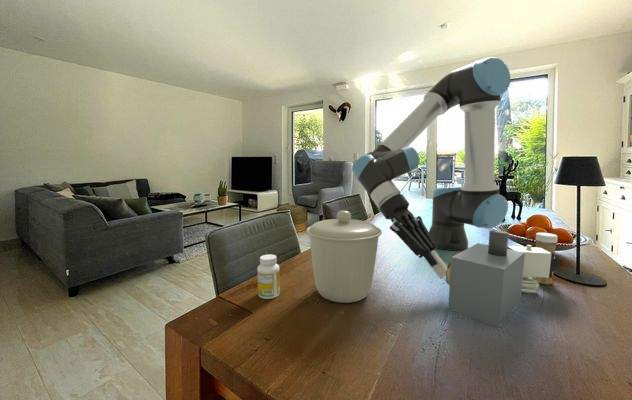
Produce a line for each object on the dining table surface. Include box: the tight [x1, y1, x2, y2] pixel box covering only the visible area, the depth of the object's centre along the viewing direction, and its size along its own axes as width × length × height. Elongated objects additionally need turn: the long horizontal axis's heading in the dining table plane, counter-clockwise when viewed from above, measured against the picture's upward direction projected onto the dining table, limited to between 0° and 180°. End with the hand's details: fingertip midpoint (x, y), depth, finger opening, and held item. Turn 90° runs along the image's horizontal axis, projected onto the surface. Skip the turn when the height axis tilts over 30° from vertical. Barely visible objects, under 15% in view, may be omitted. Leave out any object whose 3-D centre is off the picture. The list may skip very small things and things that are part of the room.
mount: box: [447, 243, 525, 328], centre depth 65 cm, size 10×16×12 cm, turn 132°
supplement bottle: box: [256, 254, 281, 300], centre depth 70 cm, size 5×5×10 cm
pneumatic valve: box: [507, 244, 560, 294], centre depth 73 cm, size 6×12×12 cm, turn 78°
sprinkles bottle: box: [532, 232, 558, 285], centre depth 78 cm, size 5×5×14 cm
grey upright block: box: [487, 229, 509, 256], centre depth 65 cm, size 4×4×5 cm
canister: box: [306, 210, 383, 304], centre depth 70 cm, size 18×18×21 cm
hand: (445, 275), depth 70 cm, fingers closed
